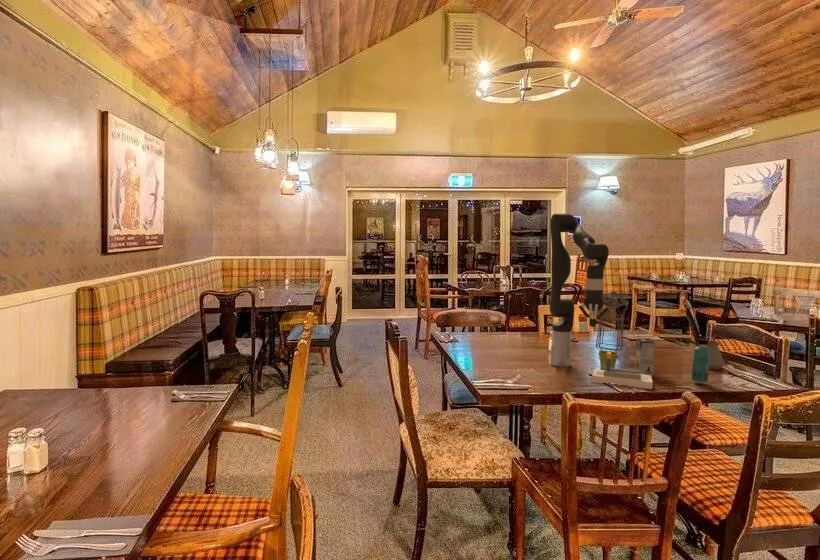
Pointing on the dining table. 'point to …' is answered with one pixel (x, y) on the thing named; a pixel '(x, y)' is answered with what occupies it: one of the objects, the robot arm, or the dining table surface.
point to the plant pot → (604, 359)
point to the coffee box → (645, 356)
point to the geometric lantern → (612, 317)
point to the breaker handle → (608, 362)
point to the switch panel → (622, 377)
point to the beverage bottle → (701, 362)
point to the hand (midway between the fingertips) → (592, 327)
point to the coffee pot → (712, 354)
